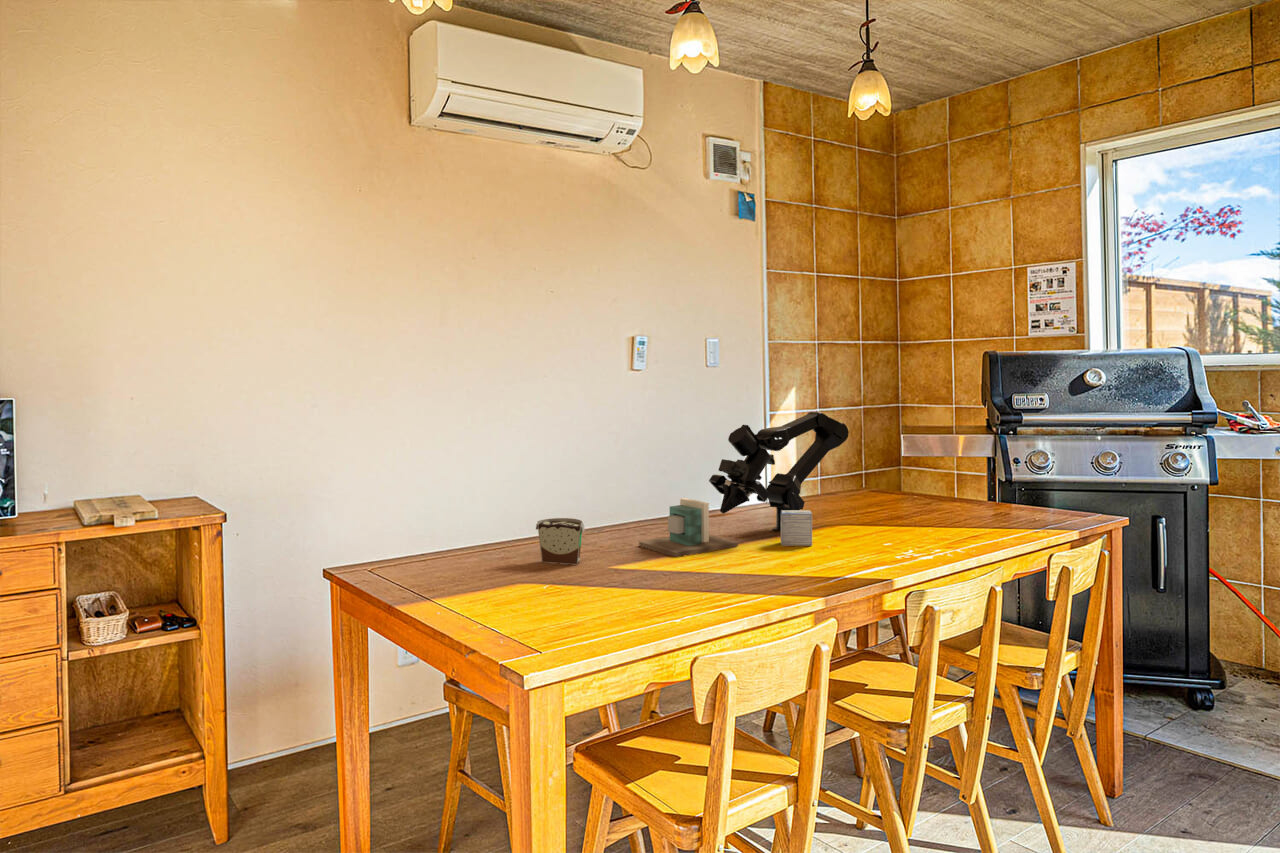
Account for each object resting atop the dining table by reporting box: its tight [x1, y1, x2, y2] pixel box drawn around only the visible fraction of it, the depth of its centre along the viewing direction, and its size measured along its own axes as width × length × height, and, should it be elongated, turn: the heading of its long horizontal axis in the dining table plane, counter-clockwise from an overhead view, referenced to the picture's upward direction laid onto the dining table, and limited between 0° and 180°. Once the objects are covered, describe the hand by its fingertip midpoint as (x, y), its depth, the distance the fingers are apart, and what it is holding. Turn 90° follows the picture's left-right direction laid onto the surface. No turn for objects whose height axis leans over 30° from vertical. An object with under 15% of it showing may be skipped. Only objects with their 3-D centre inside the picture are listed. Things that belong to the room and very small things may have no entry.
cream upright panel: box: [667, 497, 710, 542], centre depth 220 cm, size 8×10×10 cm
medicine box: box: [780, 509, 813, 547], centre depth 221 cm, size 8×4×9 cm, turn 84°
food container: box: [535, 517, 586, 566], centre depth 206 cm, size 12×6×10 cm, turn 71°
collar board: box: [638, 504, 739, 558], centre depth 220 cm, size 20×16×10 cm
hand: (721, 512), depth 226 cm, fingers closed
